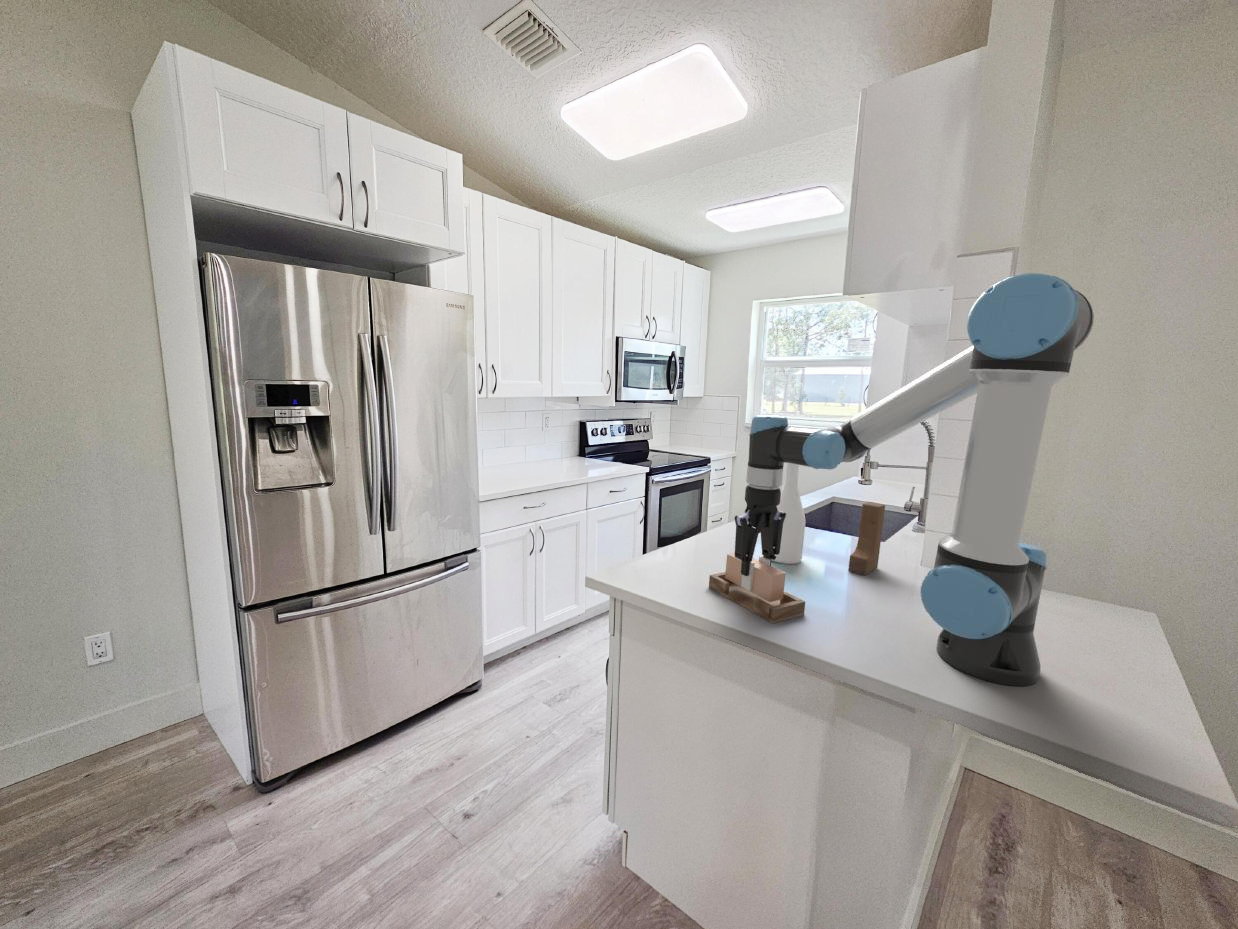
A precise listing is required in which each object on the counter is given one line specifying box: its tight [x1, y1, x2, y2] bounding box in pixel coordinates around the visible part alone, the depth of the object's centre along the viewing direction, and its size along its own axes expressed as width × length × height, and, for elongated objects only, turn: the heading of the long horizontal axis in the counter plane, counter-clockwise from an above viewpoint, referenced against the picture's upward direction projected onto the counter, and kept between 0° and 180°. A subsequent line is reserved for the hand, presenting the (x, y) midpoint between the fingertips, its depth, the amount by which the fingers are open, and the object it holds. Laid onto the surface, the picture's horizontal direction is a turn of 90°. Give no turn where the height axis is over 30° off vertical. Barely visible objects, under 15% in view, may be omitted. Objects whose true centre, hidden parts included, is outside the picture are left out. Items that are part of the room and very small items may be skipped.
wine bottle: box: [771, 463, 807, 565], centre depth 140 cm, size 10×10×30 cm
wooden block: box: [848, 501, 886, 576], centre depth 135 cm, size 9×4×18 cm, turn 133°
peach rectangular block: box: [724, 552, 787, 602], centre depth 114 cm, size 14×4×6 cm, turn 31°
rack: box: [708, 571, 806, 624], centre depth 114 cm, size 20×9×3 cm, turn 29°
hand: (754, 586), depth 114 cm, fingers closed on peach rectangular block, 4 cm apart
